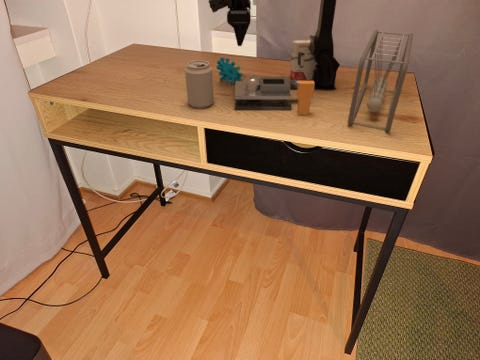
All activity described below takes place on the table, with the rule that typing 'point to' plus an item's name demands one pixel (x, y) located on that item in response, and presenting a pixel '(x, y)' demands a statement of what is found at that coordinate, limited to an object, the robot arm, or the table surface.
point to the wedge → (304, 96)
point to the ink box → (301, 61)
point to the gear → (228, 71)
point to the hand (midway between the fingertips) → (240, 41)
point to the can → (199, 83)
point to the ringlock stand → (264, 93)
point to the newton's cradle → (380, 79)
